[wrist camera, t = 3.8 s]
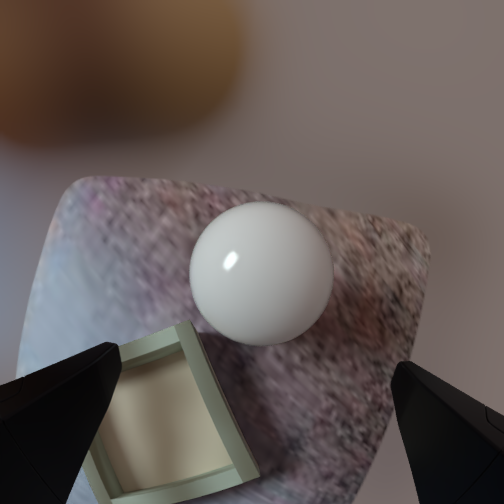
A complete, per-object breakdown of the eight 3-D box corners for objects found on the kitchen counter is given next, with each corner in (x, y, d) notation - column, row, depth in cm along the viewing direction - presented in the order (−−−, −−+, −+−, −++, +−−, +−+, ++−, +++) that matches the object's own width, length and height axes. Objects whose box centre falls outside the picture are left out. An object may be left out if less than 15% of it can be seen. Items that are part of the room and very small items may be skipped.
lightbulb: (302, 372, 19) (355, 329, 9) (205, 363, 19) (158, 312, 10) (306, 283, 22) (344, 178, 12) (217, 276, 22) (194, 167, 13)
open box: (122, 504, 14) (104, 515, 11) (74, 376, 18) (52, 369, 16) (259, 466, 16) (260, 476, 13) (197, 332, 20) (189, 319, 18)
